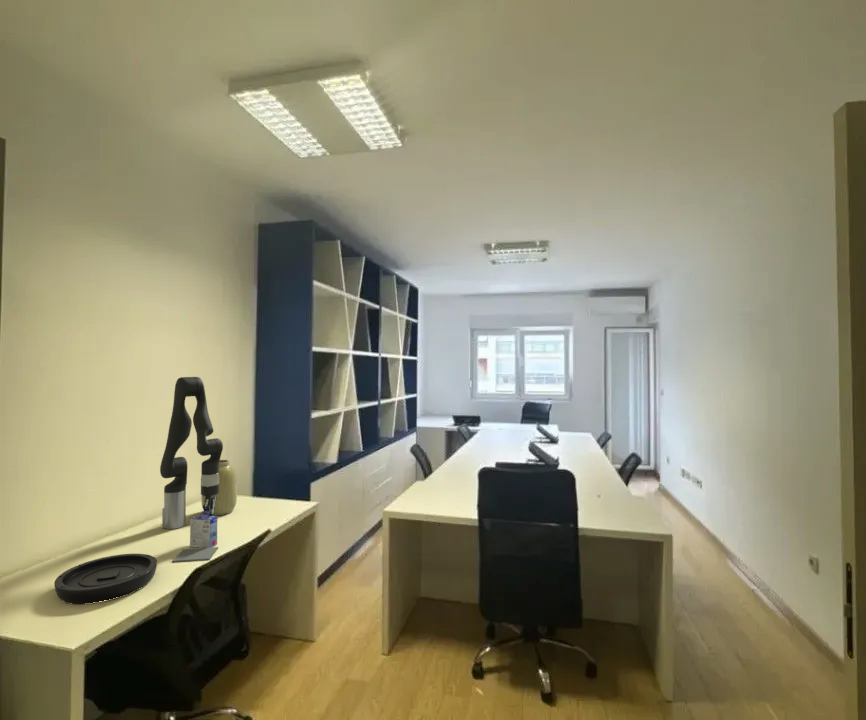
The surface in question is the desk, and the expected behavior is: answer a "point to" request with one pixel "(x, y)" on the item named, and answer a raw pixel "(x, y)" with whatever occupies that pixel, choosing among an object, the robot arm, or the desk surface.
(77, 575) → the round tray
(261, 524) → the desk surface
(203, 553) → the mat
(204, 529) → the ink cartridge box
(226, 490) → the vase
